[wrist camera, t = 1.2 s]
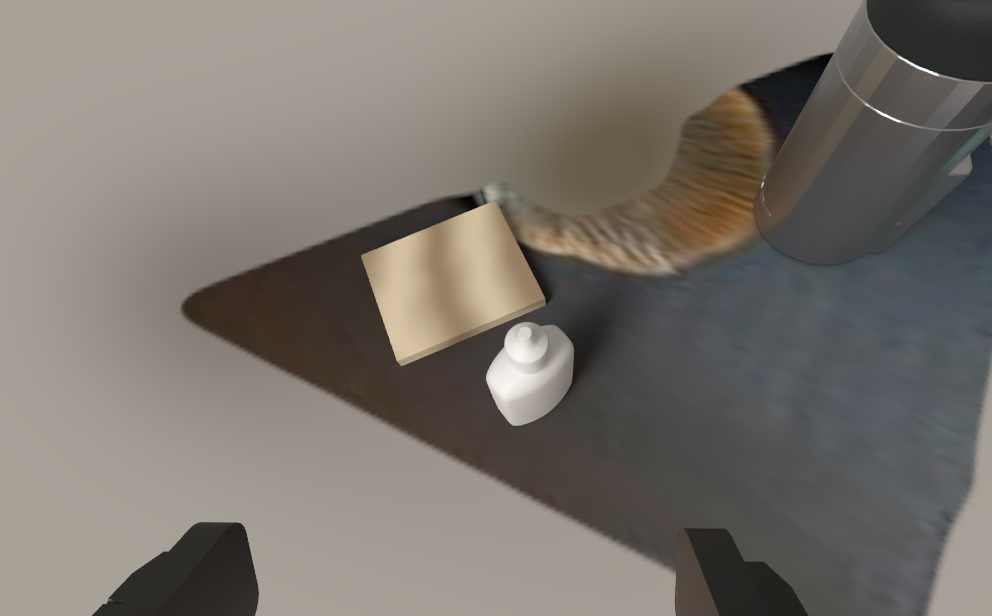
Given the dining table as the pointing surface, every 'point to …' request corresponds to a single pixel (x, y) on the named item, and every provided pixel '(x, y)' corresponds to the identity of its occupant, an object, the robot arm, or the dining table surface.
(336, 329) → the dining table surface
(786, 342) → the dining table surface
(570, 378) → the eye dropper bottle
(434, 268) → the oak board
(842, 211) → the robot arm
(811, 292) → the dining table surface
